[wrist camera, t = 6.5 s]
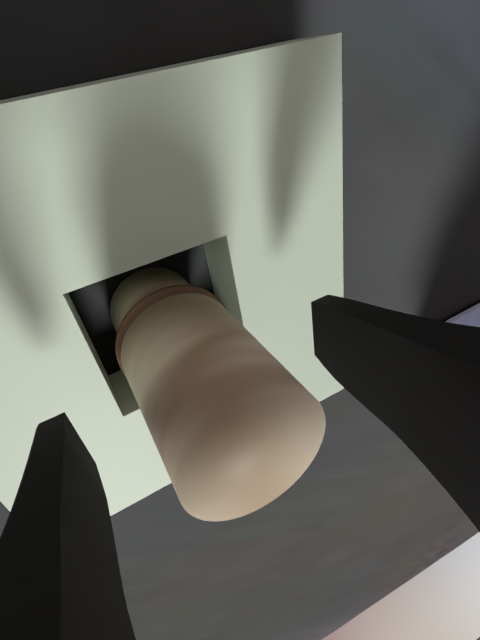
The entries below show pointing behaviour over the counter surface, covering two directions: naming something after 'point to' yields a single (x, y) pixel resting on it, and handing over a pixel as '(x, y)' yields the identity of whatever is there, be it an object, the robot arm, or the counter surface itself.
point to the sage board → (163, 230)
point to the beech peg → (212, 397)
